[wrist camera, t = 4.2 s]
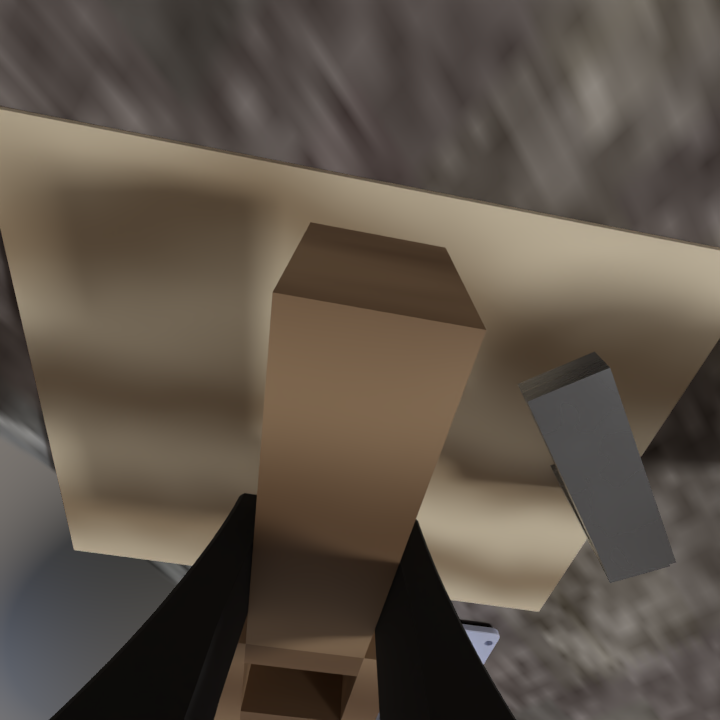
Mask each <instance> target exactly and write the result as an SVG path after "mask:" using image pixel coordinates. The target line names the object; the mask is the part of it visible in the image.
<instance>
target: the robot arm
mask: <svg viewBox="0 0 720 720" xmlns="http://www.w3.org/2000/svg"><path fill="white" fill-rule="evenodd" d="M256 502H257V495H255V494H248V493H244V494H242V495H240V496H239V498H238V500H237V501H236V503H235V505H234V507H233V508H232V510H231V512H230V513H229V515H228V516H227V518H226V520H225V521H224V523H223V524H222V526H221V527H220V529H219V530H218V531H217V533H216V534H215V536H214V537H213V539H212V540H211V542H210V543H209V544H208V546H207V547H206V548H205V550H204V551H203V552H202V554H201V555H200V556H199V558H198V559H197V560H196V562H195V563H194V564H193V566H192V567H191V568H190V570H189V571H188V572H187V573H186V575H185V576H184V577H183V578H182V580H181V581H180V582H179V583H178V584H177V586H176V587H175V588H174V589H173V590H172V592H171V593H170V594H169V595H168V597H167V598H166V599H165V600H164V601H163V603H162V604H161V605H160V606H159V607H158V608H157V610H156V611H155V612H154V613H153V614H152V615H151V616H150V618H149V619H148V620H147V621H146V622H145V623H144V624H143V625H142V627H141V628H140V629H139V630H138V631H137V632H136V633H135V634H134V635H133V636H132V638H131V639H130V640H129V641H128V642H127V643H126V644H125V645H124V646H123V647H122V648H121V649H120V650H119V651H118V652H117V653H116V654H115V655H114V657H113V658H112V659H111V660H110V661H109V662H108V663H107V664H106V665H105V666H104V667H103V668H102V669H101V670H100V671H99V672H98V673H97V674H96V675H95V676H94V677H93V678H92V679H91V680H90V681H89V682H88V683H87V684H86V685H85V686H84V687H83V688H82V689H81V690H80V691H79V692H78V693H77V694H76V695H75V696H74V697H72V698H71V699H70V700H69V701H68V702H67V703H66V704H65V705H64V706H63V707H62V708H61V709H60V710H59V711H58V712H57V713H56V714H55V715H54V716H53V717H51V718H50V720H214V718H215V714H216V711H217V707H218V704H219V700H220V697H221V694H222V691H223V688H224V685H225V682H226V679H227V675H228V672H229V669H230V666H231V663H232V660H233V657H234V654H235V651H236V648H237V645H238V642H239V639H240V635H241V632H242V629H243V626H244V623H245V620H246V617H247V614H248V607H249V594H250V580H251V567H252V554H253V541H254V528H255V515H256ZM498 640H499V633H498V630H496V629H495V628H491V627H483V626H475V625H468V624H462V623H461V621H460V619H459V617H458V615H457V613H456V611H455V609H454V606H453V604H452V602H451V600H450V598H449V596H448V594H447V591H446V589H445V587H444V585H443V583H442V580H441V578H440V576H439V573H438V571H437V569H436V566H435V564H434V561H433V559H432V557H431V554H430V552H429V549H428V547H427V544H426V541H425V539H424V536H423V533H422V531H421V528H420V525H419V522H418V520H417V519H416V520H415V523H414V526H413V528H412V531H411V534H410V536H409V539H408V542H407V544H406V547H405V550H404V552H403V555H402V558H401V560H400V563H399V566H398V568H397V571H396V574H395V576H394V579H393V582H392V585H391V587H390V590H389V593H388V595H387V598H386V601H385V603H384V606H383V609H382V611H381V614H380V617H379V619H378V622H377V625H376V627H375V645H376V663H377V680H378V697H379V713H378V716H377V718H376V720H516V719H515V717H514V716H513V714H512V712H511V711H510V709H509V708H508V706H507V704H506V703H505V701H504V699H503V698H502V696H501V694H500V693H499V691H498V689H497V688H496V686H495V684H494V682H493V681H492V679H491V677H490V675H489V674H488V672H487V670H486V668H485V667H484V665H483V664H484V663H485V661H486V659H487V658H488V656H489V655H490V653H491V651H492V650H493V648H494V646H495V645H496V643H497V642H498Z"/></svg>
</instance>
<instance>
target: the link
mask: <svg viewBox="0 0 720 720" xmlns="http://www.w3.org/2000/svg"><path fill="white" fill-rule="evenodd" d="M485 333H486V328H485V326H484V324H483V322H482V320H481V318H480V316H479V314H478V312H477V310H476V308H475V306H474V304H473V302H472V300H471V298H470V296H469V294H468V292H467V290H466V288H465V286H464V284H463V282H462V280H461V278H460V276H459V274H458V272H457V270H456V268H455V266H454V264H453V262H452V259H451V257H450V255H449V253H448V251H447V249H446V248H445V247H440V246H435V245H429V244H424V243H419V242H413V241H408V240H403V239H397V238H392V237H387V236H381V235H376V234H371V233H366V232H360V231H355V230H350V229H344V228H339V227H334V226H328V225H323V224H318V223H312V222H310V224H309V226H308V228H307V230H306V232H305V233H304V235H303V237H302V239H301V241H300V243H299V244H298V246H297V248H296V250H295V252H294V254H293V255H292V257H291V259H290V261H289V263H288V265H287V267H286V268H285V270H284V272H283V274H282V276H281V278H280V279H279V281H278V283H277V285H276V287H275V289H274V290H273V292H272V305H271V318H270V331H269V344H268V357H267V371H266V384H265V397H264V410H263V423H262V436H261V449H260V462H259V475H258V489H257V502H256V515H255V528H254V541H253V554H252V567H251V580H250V594H249V607H248V614H247V617H246V620H245V623H244V626H243V629H242V632H241V635H240V639H239V642H238V645H237V648H236V651H235V654H234V657H233V660H232V663H231V666H230V669H229V672H228V675H227V679H226V682H225V685H224V688H223V691H222V694H221V697H220V700H219V704H218V707H217V711H216V714H215V718H214V720H376V718H377V716H378V713H379V697H378V680H377V663H376V645H375V627H376V625H377V622H378V619H379V617H380V614H381V611H382V609H383V606H384V603H385V601H386V598H387V595H388V593H389V590H390V587H391V585H392V582H393V579H394V576H395V574H396V571H397V568H398V566H399V563H400V560H401V558H402V555H403V552H404V550H405V547H406V544H407V542H408V539H409V536H410V534H411V531H412V528H413V526H414V523H415V520H416V518H417V515H418V512H419V509H420V507H421V504H422V501H423V499H424V496H425V493H426V491H427V488H428V485H429V483H430V480H431V477H432V475H433V472H434V469H435V467H436V464H437V461H438V459H439V456H440V453H441V450H442V448H443V445H444V442H445V440H446V437H447V434H448V432H449V429H450V426H451V424H452V421H453V418H454V416H455V413H456V410H457V408H458V405H459V402H460V400H461V397H462V394H463V392H464V389H465V386H466V383H467V381H468V378H469V375H470V373H471V370H472V367H473V365H474V362H475V359H476V357H477V354H478V351H479V349H480V346H481V343H482V341H483V338H484V335H485Z"/></svg>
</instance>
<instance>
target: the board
mask: <svg viewBox="0 0 720 720" xmlns="http://www.w3.org/2000/svg"><path fill="white" fill-rule="evenodd" d="M310 222H312V223H318V224H323V225H328V226H334V227H339V228H344V229H350V230H355V231H360V232H366V233H371V234H376V235H381V236H387V237H392V238H397V239H403V240H408V241H413V242H419V243H424V244H429V245H435V246H440V247H445V248H446V249H447V251H448V253H449V255H450V257H451V259H452V262H453V264H454V266H455V268H456V270H457V272H458V274H459V276H460V278H461V280H462V282H463V284H464V286H465V288H466V290H467V292H468V294H469V296H470V298H471V300H472V302H473V304H474V306H475V308H476V310H477V312H478V314H479V316H480V318H481V320H482V322H483V324H484V326H485V328H486V333H485V335H484V338H483V341H482V343H481V346H480V349H479V351H478V354H477V357H476V359H475V362H474V365H473V367H472V370H471V373H470V375H469V378H468V381H467V383H466V386H465V389H464V392H463V394H462V397H461V400H460V402H459V405H458V408H457V410H456V413H455V416H454V418H453V421H452V424H451V426H450V429H449V432H448V434H447V437H446V440H445V442H444V445H443V448H442V450H441V453H440V456H439V459H438V461H437V464H436V467H435V469H434V472H433V475H432V477H431V480H430V483H429V485H428V488H427V491H426V493H425V496H424V499H423V501H422V504H421V507H420V509H419V512H418V515H417V518H416V519H417V520H418V522H419V525H420V528H421V531H422V533H423V536H424V539H425V541H426V544H427V547H428V549H429V552H430V554H431V557H432V559H433V561H434V564H435V566H436V569H437V571H438V573H439V576H440V578H441V580H442V583H443V585H444V587H445V589H446V591H447V594H448V596H449V598H450V600H455V601H462V602H470V603H477V604H485V605H492V606H500V607H508V608H515V609H523V610H530V611H538V612H539V611H540V609H541V608H542V606H543V605H544V603H545V602H546V600H547V599H548V597H549V595H550V594H551V592H552V591H553V589H554V588H555V586H556V585H557V583H558V582H559V580H560V579H561V577H562V576H563V574H564V573H565V571H566V570H567V568H568V567H569V565H570V564H571V562H572V561H573V559H574V558H575V556H576V555H577V553H578V552H579V550H580V549H581V547H582V546H583V544H584V543H585V541H586V540H587V537H586V536H585V534H584V532H583V530H582V528H581V526H580V524H579V522H578V520H577V518H576V516H575V514H574V512H573V510H572V509H571V507H570V505H569V503H568V501H567V499H566V497H565V495H564V493H563V491H562V489H561V487H560V485H559V483H558V481H557V479H556V477H555V475H554V473H553V470H552V468H551V466H550V465H553V464H554V462H553V460H552V457H551V455H550V453H549V451H548V449H547V447H546V445H545V442H544V440H543V438H542V436H541V434H540V432H539V430H538V427H537V425H536V423H535V421H534V419H533V417H532V415H531V412H530V410H529V408H528V406H527V404H526V402H525V400H524V397H523V395H522V393H521V391H520V389H519V387H518V385H517V384H519V383H522V382H524V381H526V380H529V379H531V378H533V377H536V376H538V375H540V374H543V373H545V372H547V371H550V370H552V369H555V368H557V367H559V366H562V365H564V364H566V363H569V362H571V361H573V360H576V359H578V358H580V357H583V356H585V355H587V354H590V353H592V352H594V351H595V353H596V354H597V355H598V356H599V357H600V358H601V359H602V360H603V361H604V362H605V363H606V364H607V365H608V366H609V367H610V369H611V372H612V374H613V377H614V380H615V383H616V386H617V389H618V392H619V395H620V398H621V401H622V404H623V407H624V410H625V413H626V416H627V419H628V422H629V425H630V428H631V431H632V434H633V437H634V440H635V443H636V445H637V448H638V451H639V454H640V457H641V456H642V455H643V453H644V452H645V450H646V449H647V447H648V446H649V444H650V443H651V441H652V440H653V438H654V437H655V435H656V434H657V432H658V431H659V429H660V428H661V426H662V425H663V423H664V422H665V420H666V419H667V417H668V416H669V414H670V413H671V411H672V410H673V408H674V406H675V405H676V403H677V402H678V400H679V399H680V397H681V396H682V394H683V393H684V391H685V390H686V388H687V387H688V385H689V384H690V382H691V381H692V379H693V378H694V376H695V375H696V373H697V372H698V370H699V369H700V367H701V366H702V364H703V363H704V361H705V360H706V358H707V357H708V355H709V354H710V352H711V351H712V349H713V348H714V346H715V344H716V343H717V341H718V340H719V338H720V248H719V247H714V246H709V245H704V244H699V243H693V242H688V241H683V240H678V239H673V238H668V237H663V236H658V235H653V234H648V233H643V232H638V231H633V230H627V229H622V228H617V227H612V226H607V225H602V224H597V223H592V222H587V221H582V220H577V219H572V218H566V217H561V216H556V215H551V214H546V213H541V212H536V211H531V210H526V209H521V208H516V207H511V206H505V205H500V204H495V203H490V202H485V201H480V200H475V199H470V198H465V197H460V196H455V195H450V194H444V193H439V192H434V191H429V190H424V189H419V188H414V187H409V186H404V185H399V184H394V183H389V182H383V181H378V180H373V179H368V178H363V177H358V176H353V175H348V174H343V173H338V172H333V171H328V170H322V169H317V168H312V167H307V166H302V165H297V164H292V163H287V162H282V161H277V160H272V159H267V158H262V157H256V156H251V155H246V154H241V153H236V152H231V151H226V150H221V149H216V148H211V147H206V146H201V145H195V144H190V143H185V142H180V141H175V140H170V139H165V138H160V137H155V136H150V135H145V134H140V133H134V132H129V131H124V130H119V129H114V128H109V127H104V126H99V125H94V124H89V123H84V122H79V121H73V120H68V119H63V118H58V117H53V116H48V115H43V114H38V113H33V112H28V111H23V110H18V109H12V108H7V107H2V106H0V229H1V234H2V238H3V242H4V247H5V251H6V255H7V260H8V264H9V269H10V273H11V277H12V282H13V286H14V290H15V295H16V299H17V303H18V308H19V312H20V316H21V321H22V325H23V330H24V334H25V338H26V343H27V347H28V351H29V356H30V360H31V364H32V369H33V373H34V377H35V382H36V386H37V391H38V395H39V399H40V404H41V408H42V412H43V417H44V421H45V425H46V430H47V434H48V438H49V443H50V447H51V452H52V456H53V460H54V465H55V469H56V473H57V477H58V482H59V486H60V490H61V495H62V500H63V504H64V508H65V512H66V517H67V521H68V526H69V530H70V534H71V538H72V542H73V547H74V550H78V551H85V552H86V551H87V552H93V553H101V554H108V555H116V556H124V557H131V558H138V559H146V560H153V561H161V562H168V563H176V564H183V565H191V566H193V564H194V563H195V562H196V560H197V559H198V558H199V556H200V555H201V554H202V552H203V551H204V550H205V548H206V547H207V546H208V544H209V543H210V542H211V540H212V539H213V537H214V536H215V534H216V533H217V531H218V530H219V529H220V527H221V526H222V524H223V523H224V521H225V520H226V518H227V516H228V515H229V513H230V512H231V510H232V508H233V507H234V505H235V503H236V501H237V500H238V498H239V496H240V495H242V494H244V493H248V494H255V495H257V489H258V475H259V462H260V449H261V436H262V423H263V410H264V397H265V384H266V371H267V357H268V344H269V331H270V318H271V305H272V292H273V290H274V289H275V287H276V285H277V283H278V281H279V279H280V278H281V276H282V274H283V272H284V270H285V268H286V267H287V265H288V263H289V261H290V259H291V257H292V255H293V254H294V252H295V250H296V248H297V246H298V244H299V243H300V241H301V239H302V237H303V235H304V233H305V232H306V230H307V228H308V226H309V224H310Z"/></svg>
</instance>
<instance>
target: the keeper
mask: <svg viewBox="0 0 720 720" xmlns="http://www.w3.org/2000/svg"><path fill="white" fill-rule="evenodd" d="M517 385H518V387H519V389H520V391H521V393H522V395H523V397H524V400H525V402H526V404H527V406H528V408H529V410H530V412H531V415H532V417H533V419H534V421H535V423H536V425H537V427H538V430H539V432H540V434H541V436H542V438H543V440H544V442H545V445H546V447H547V449H548V451H549V453H550V455H551V457H552V460H553V462H554V464H553V465H550V466H551V468H552V470H553V473H554V475H555V477H556V479H557V481H558V483H559V485H560V487H561V489H562V491H563V493H564V495H565V497H566V499H567V501H568V503H569V505H570V507H571V509H572V510H573V512H574V514H575V516H576V518H577V520H578V522H579V524H580V526H581V528H582V530H583V532H584V534H585V536H586V537H587V539H588V541H589V543H590V545H591V547H592V549H593V551H594V553H595V555H596V557H597V559H598V561H599V563H600V564H601V566H602V568H603V570H604V572H605V574H606V576H607V578H608V580H609V582H610V583H612V582H615V581H619V580H622V579H626V578H629V577H633V576H637V575H640V574H644V573H647V572H651V571H654V570H658V569H661V568H665V567H668V566H670V565H669V564H672V563H675V562H676V561H675V558H674V555H673V552H672V549H671V546H670V543H669V540H668V537H667V534H666V531H665V528H664V525H663V522H662V519H661V516H660V514H659V511H658V508H657V505H656V502H655V499H654V496H653V493H652V490H651V487H650V484H649V481H648V478H647V475H646V472H645V469H644V466H643V463H642V460H641V457H640V454H639V451H638V448H637V445H636V443H635V440H634V437H633V434H632V431H631V428H630V425H629V422H628V419H627V416H626V413H625V410H624V407H623V404H622V401H621V398H620V395H619V392H618V389H617V386H616V383H615V380H614V377H613V374H612V372H611V369H610V367H609V366H608V365H607V364H606V363H605V362H604V361H603V360H602V359H601V358H600V357H599V356H598V355H597V354H596V353H595V351H594V352H592V353H590V354H587V355H585V356H583V357H580V358H578V359H576V360H573V361H571V362H569V363H566V364H564V365H562V366H559V367H557V368H555V369H552V370H550V371H547V372H545V373H543V374H540V375H538V376H536V377H533V378H531V379H529V380H526V381H524V382H522V383H519V384H517Z"/></svg>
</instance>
